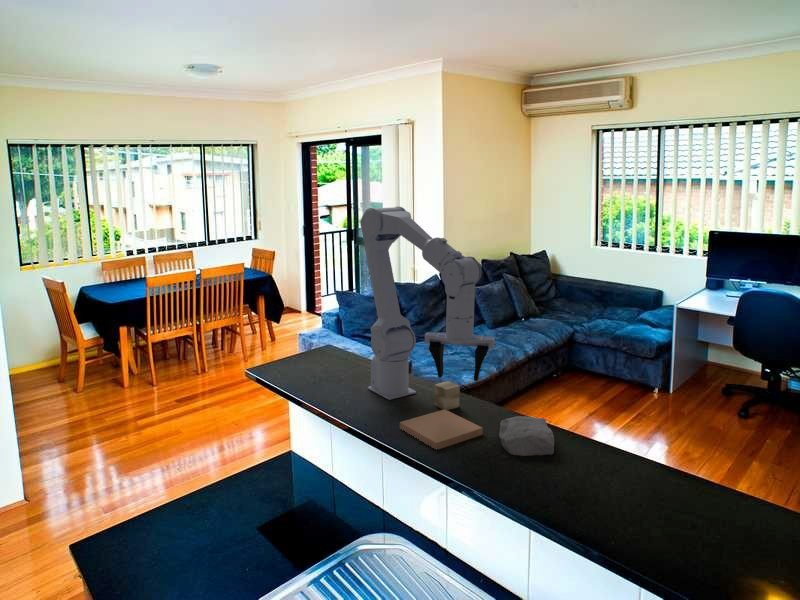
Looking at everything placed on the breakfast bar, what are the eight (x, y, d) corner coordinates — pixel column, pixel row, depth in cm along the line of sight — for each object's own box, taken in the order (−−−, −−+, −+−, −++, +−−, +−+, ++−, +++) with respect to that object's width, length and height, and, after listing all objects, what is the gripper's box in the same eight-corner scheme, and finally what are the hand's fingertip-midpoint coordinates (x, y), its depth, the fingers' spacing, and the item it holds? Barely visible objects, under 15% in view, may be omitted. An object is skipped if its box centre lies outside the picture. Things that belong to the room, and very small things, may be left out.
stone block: (506, 465, 113) (559, 455, 112) (502, 441, 112) (555, 431, 111) (497, 440, 124) (545, 431, 124) (493, 418, 124) (541, 409, 123)
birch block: (434, 405, 137) (434, 384, 136) (447, 401, 139) (448, 380, 138) (445, 410, 134) (446, 389, 133) (459, 406, 136) (459, 385, 135)
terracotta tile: (399, 431, 124) (399, 422, 124) (444, 417, 131) (444, 409, 131) (436, 452, 115) (436, 442, 114) (482, 437, 121) (482, 427, 121)
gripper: (421, 317, 123) (420, 380, 126) (492, 322, 120) (490, 387, 122) (429, 310, 130) (428, 370, 133) (496, 314, 126) (494, 376, 129)
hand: (458, 377), depth 128 cm, fingers open, 7 cm apart
